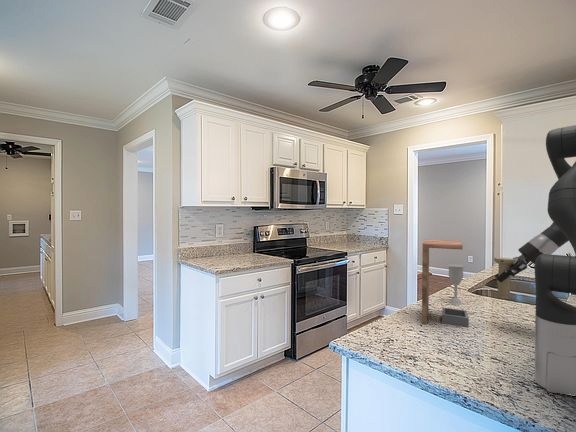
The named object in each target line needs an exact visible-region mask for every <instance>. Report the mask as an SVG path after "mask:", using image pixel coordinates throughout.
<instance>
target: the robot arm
mask: <svg viewBox="0 0 576 432" xmlns="http://www.w3.org/2000/svg"><path fill="white" fill-rule="evenodd" d="M545 148H546V149H545V150H546V154H547V156H548V159H549V161H550V164H551V165H552V166H551V167H552V168H553V171H554V173H555V174H556V175H555V176H556V178H557V180H556V182H555V183H554V184H553V185H552V187H551V188H550V190H549V193H548V199H547V214H548V216H549V218H550V219H551V221H552V224H550V226H548V227H547V228H546V229H544V230H543V231H542V232H540V233H539V234H537V235H536V236H534V237H532V238H531V239H530V240H529V241H527V242H526V243H524V244H523V245H522V246H521V247H519V248H518V252H519V253H520V254H521V255H519V256H515V257H512V259H515V260H514V262H513V263H512V264H510V265H509V268H508V269H506V270H505V271H504V272H503V273H501V274H500V275H499V276H498V272H497V273H496V274H494V278H495V279H496V280H497V282H498V281H499V282H503V281H504V280H505V279H507V278H508V277H509V276H510V278H511V277H514V276H516V275H518V274H520V273H521V272H523V271H525V270H526V269H527V268H528V265H529V263H531V264H533V265H534V282H535V283H534V284H535V316H534V317H535V318H534V319H535V323H534V381H535V383H536V384H538V385H539V386H540V387H541V388H544V389H545V390H546V391H547V392H548V393H554V394H557V393H560V394H559V395H562V394H571V395H575V396H576V306H574V305H572V304H570V303H567V302H565V301H564V300H561V299H560V298H558V297H557V296H556V295H554V293H553V292H557V293H563V294H571V295H576V160H575V161H574V163H573V165H571V164H569V163H568V161H566V159H568V158H569V159H570V158H576V124H574V125H569V126H563V127H558V128H554V129H551V130H549V131H548V132H547V133H546V138H545ZM568 242H569V243H570V245H571V247H572V249H573V251H574V253H575V255H573V256H570V255H562V254H560V255H559V254H554V253H555V252H556V251H557V250H559V248H561V247H562V246H564V245H565V244H566V243H568Z"/></svg>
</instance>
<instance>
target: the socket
mask: <svg viewBox="0 0 576 432" xmlns="http://www.w3.org/2000/svg"><path fill="white" fill-rule="evenodd" d="M441 309H442V312H441V314H442V315H441V324H442V325H443V324H444V325H450V326H457V327H465V328H469V320H470V319H469V318H470V317H469V313H468V309H467V310H465V309H456V308H450V307H441Z"/></svg>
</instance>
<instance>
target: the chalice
mask: <svg viewBox="0 0 576 432" xmlns="http://www.w3.org/2000/svg"><path fill="white" fill-rule="evenodd" d="M447 267H448V277H449V279H450V282H451V284H452V285H453V286H454V288H453V291H454V292H453V294H454V297H451V299H450V302H449V304H450V305H454V306H461V305H462V303H461V300H460V298H458V296H457V295H458V294H459V293H458V286H460V284H461V282H462V281H463V278H464V269H465V265H462V264H447Z"/></svg>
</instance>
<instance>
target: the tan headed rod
mask: <svg viewBox="0 0 576 432" xmlns="http://www.w3.org/2000/svg"><path fill="white" fill-rule="evenodd" d="M512 258H513V257H512ZM512 258H511V257H501V256H500V257H498V256H496V257H493V262H495V263H497V264H498V272H497V273H498V276H499V275H500V274H501V273H503V272H504V271H505V270H506V269H508V268H509V265H510V264H512V263H513V262H514V260H515V259H512ZM510 292H511V277H510V276H509V277H508V278H507V279H505V280H504V281H503V282H499V281H498V280H497V294H498V298H499V299H503V300H509V299H510Z"/></svg>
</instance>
